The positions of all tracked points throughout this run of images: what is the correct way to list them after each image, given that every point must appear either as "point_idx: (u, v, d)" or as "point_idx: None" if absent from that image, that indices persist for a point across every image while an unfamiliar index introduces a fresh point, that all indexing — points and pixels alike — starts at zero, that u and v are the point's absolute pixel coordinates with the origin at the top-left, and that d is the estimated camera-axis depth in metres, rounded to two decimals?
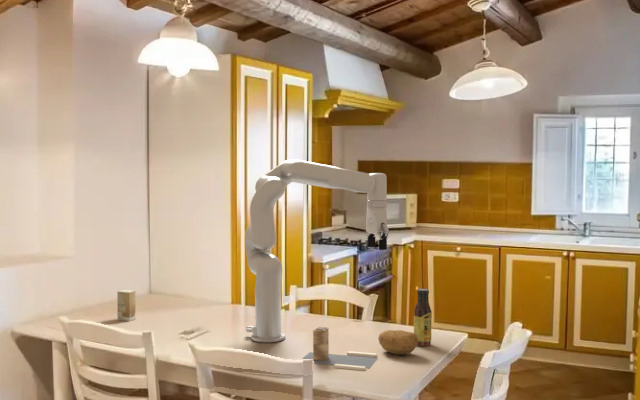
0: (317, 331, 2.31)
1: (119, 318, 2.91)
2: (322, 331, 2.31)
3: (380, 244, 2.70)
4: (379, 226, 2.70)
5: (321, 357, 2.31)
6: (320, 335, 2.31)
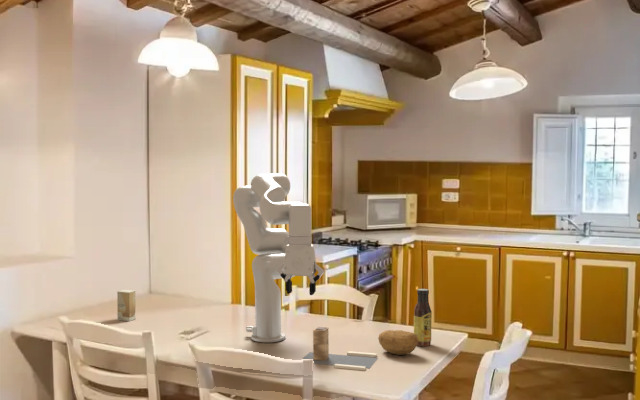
0: (317, 331, 2.31)
1: (119, 318, 2.91)
2: (322, 331, 2.31)
3: (311, 288, 2.32)
4: (313, 266, 2.31)
5: (321, 357, 2.31)
6: (320, 335, 2.31)
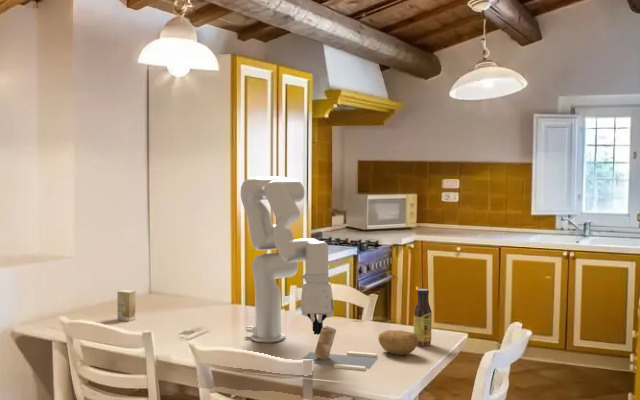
0: (325, 331, 2.30)
1: (119, 318, 2.91)
2: (330, 332, 2.30)
3: (318, 328, 2.32)
4: (330, 304, 2.30)
5: (322, 356, 2.31)
6: (327, 335, 2.30)
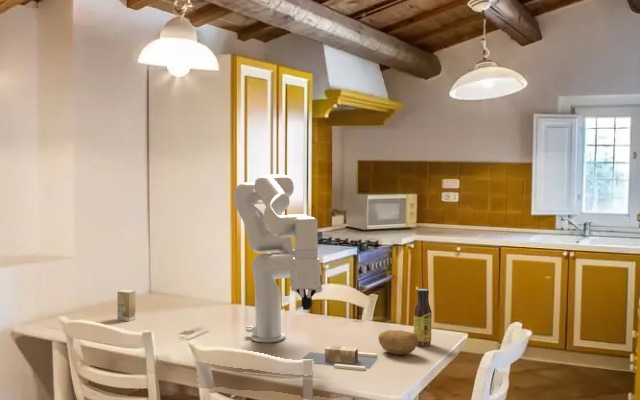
0: (353, 355, 2.28)
1: (119, 318, 2.91)
2: (353, 360, 2.28)
3: (308, 303, 2.32)
4: (319, 279, 2.30)
5: (328, 357, 2.31)
6: (349, 358, 2.28)
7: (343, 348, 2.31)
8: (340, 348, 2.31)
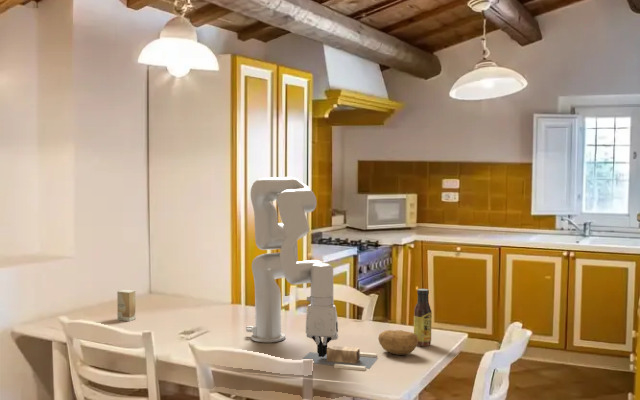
0: (354, 355, 2.28)
1: (119, 318, 2.91)
2: (355, 361, 2.28)
3: (323, 350, 2.32)
4: (335, 327, 2.30)
5: (329, 357, 2.30)
6: (351, 358, 2.28)
7: (345, 348, 2.31)
8: (342, 348, 2.31)
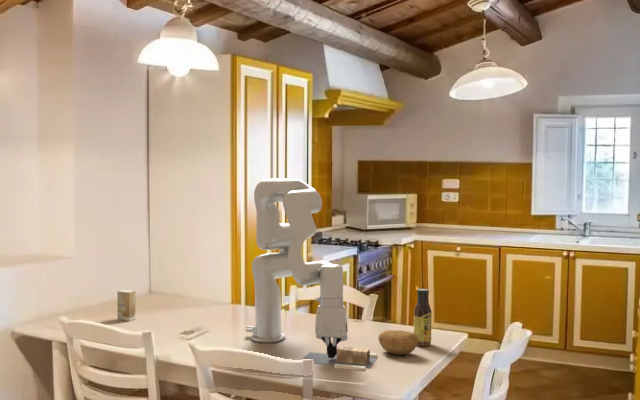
0: (365, 356, 2.27)
1: (119, 318, 2.91)
2: (365, 361, 2.27)
3: (333, 351, 2.31)
4: (345, 328, 2.29)
5: (339, 357, 2.29)
6: (361, 359, 2.27)
7: (355, 349, 2.30)
8: (352, 349, 2.30)
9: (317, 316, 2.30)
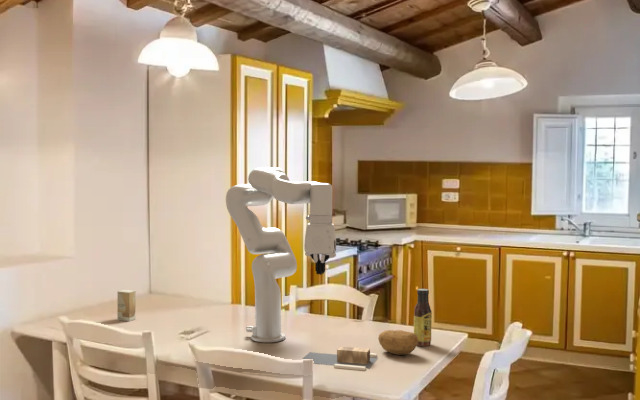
0: (365, 356, 2.27)
1: (119, 318, 2.91)
2: (365, 361, 2.27)
3: (321, 268, 2.36)
4: (333, 245, 2.34)
5: (340, 358, 2.29)
6: (361, 359, 2.27)
7: (355, 349, 2.30)
8: (352, 349, 2.30)
9: (306, 233, 2.36)
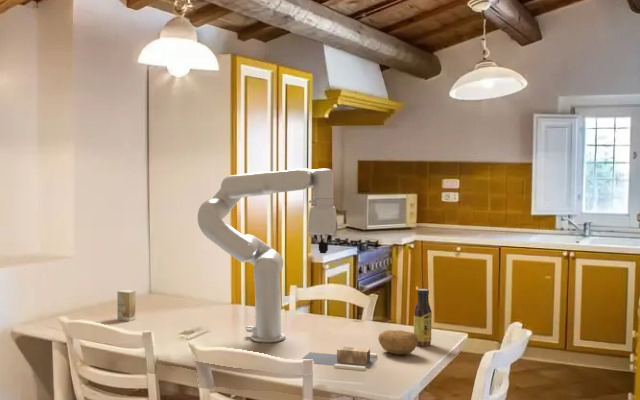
0: (365, 356, 2.27)
1: (119, 318, 2.91)
2: (365, 361, 2.27)
3: (324, 247, 2.56)
4: (335, 225, 2.54)
5: (340, 358, 2.29)
6: (361, 359, 2.27)
7: (355, 349, 2.30)
8: (352, 349, 2.30)
9: (310, 215, 2.55)
